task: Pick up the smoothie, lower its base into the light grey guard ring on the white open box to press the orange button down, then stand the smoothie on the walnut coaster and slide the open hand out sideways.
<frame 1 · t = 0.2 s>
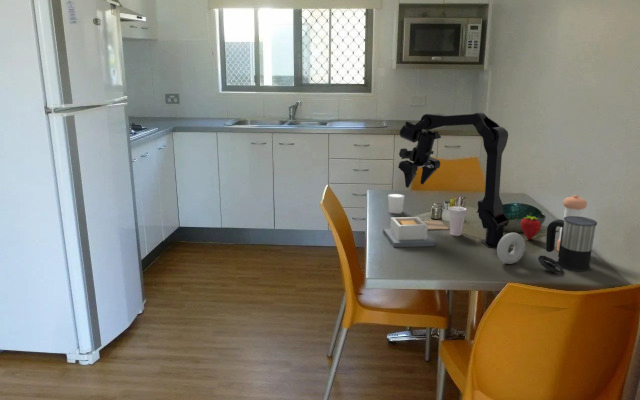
hand: (414, 185, 201), 15 cm above the table, tool pointing down, fingers open, 9 cm apart
milk frother: (563, 268, 161), on the table
pepper shaker: (568, 251, 175), on the table
strawberry: (528, 239, 187), on the table
shot glass: (395, 212, 221), on the table
donut: (509, 264, 164), on the table
button: (408, 225, 185), point 5 cm above the table, slide at 0.0 cm
smoothie: (455, 234, 192), on the table
white open box: (407, 239, 186), on the table
coaster: (429, 225, 202), on the table
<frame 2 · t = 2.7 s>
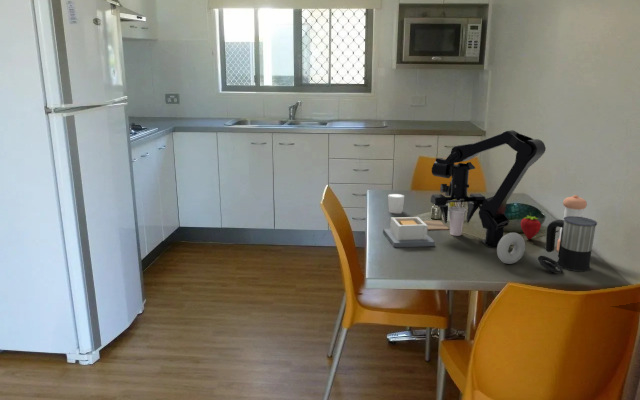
hand: (456, 222, 191), 4 cm above the table, tool pointing down, fingers closed on smoothie, 8 cm apart
smoothie: (455, 234, 192), on the table, touching gripper
everything else where it was.
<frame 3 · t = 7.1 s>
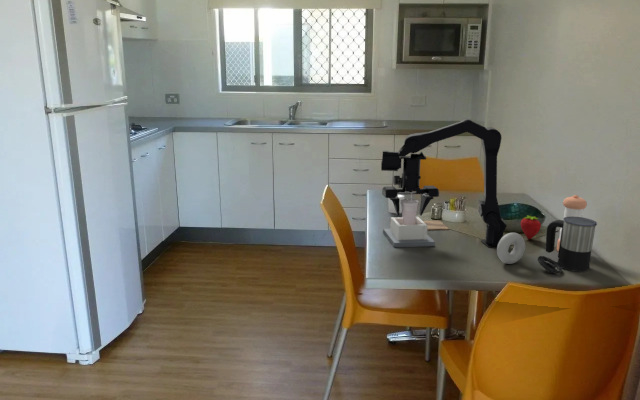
hand: (409, 215, 184), 9 cm above the table, tool pointing down, fingers closed on smoothie, 8 cm apart
button: (408, 230, 185), point 3 cm above the table, slide at 1.8 cm, touching smoothie
smoothie: (408, 228, 185), point 4 cm above the table, touching button, gripper
everything else where it was.
when the fingers open (6 cm above the table, at t = 11.8 s): smoothie moves 2 cm, resting on coaster.
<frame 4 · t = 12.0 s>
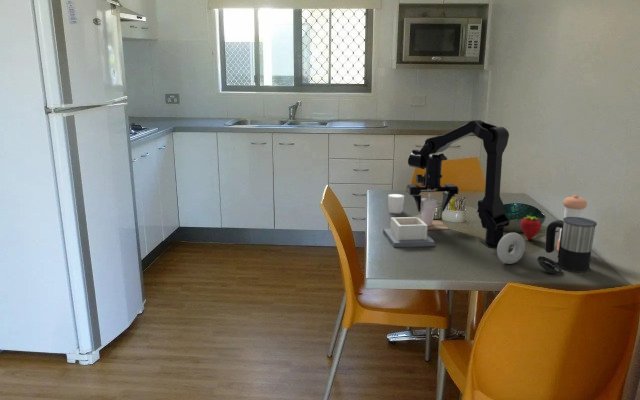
hand: (430, 211, 200), 6 cm above the table, tool pointing down, fingers open, 9 cm apart
button: (408, 230, 185), point 3 cm above the table, slide at 1.8 cm
smoothie: (427, 225, 202), resting on coaster, touching gripper
everything else where it was.
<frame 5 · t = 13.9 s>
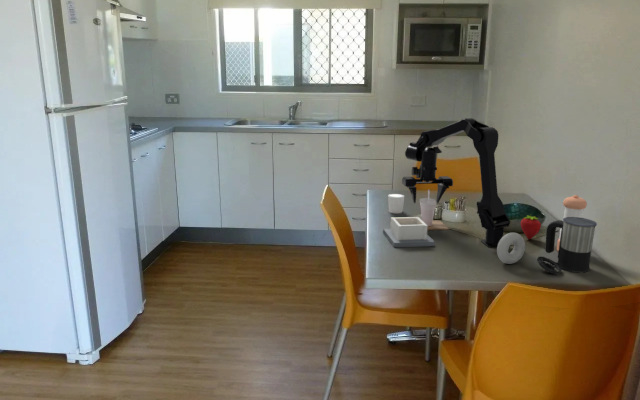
hand: (425, 203, 206), 7 cm above the table, tool pointing down, fingers open, 9 cm apart
smoothie: (427, 224, 202), resting on coaster
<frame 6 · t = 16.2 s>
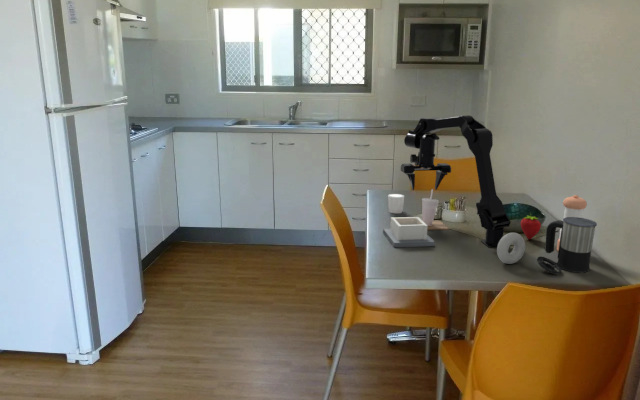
hand: (424, 189, 208), 12 cm above the table, tool pointing down, fingers open, 9 cm apart
at the end: button slide at 1.8 cm; smoothie 1.2 cm off-centre on the coaster, point 0.2 cm above the coaster's base; smoothie tilted 1° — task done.
